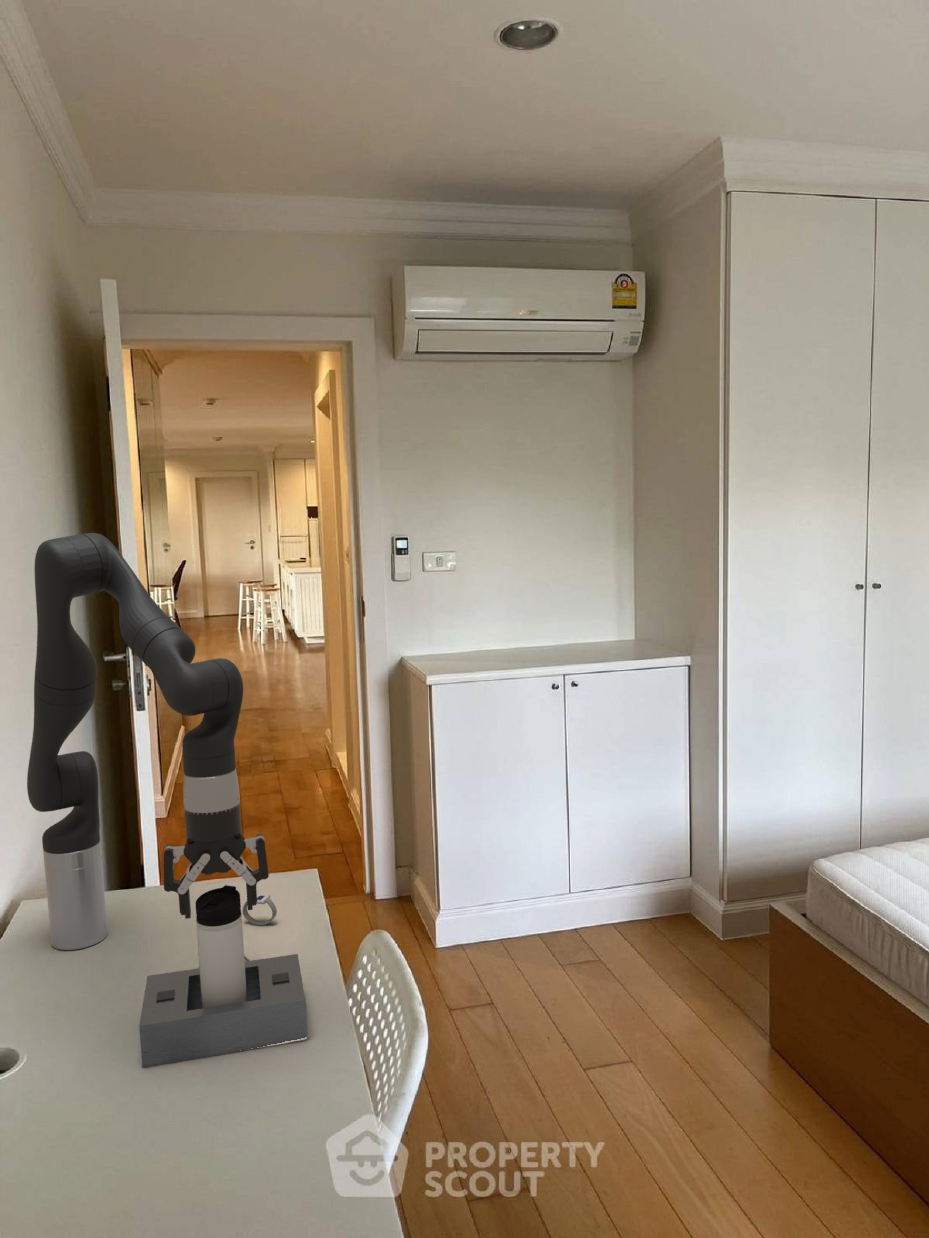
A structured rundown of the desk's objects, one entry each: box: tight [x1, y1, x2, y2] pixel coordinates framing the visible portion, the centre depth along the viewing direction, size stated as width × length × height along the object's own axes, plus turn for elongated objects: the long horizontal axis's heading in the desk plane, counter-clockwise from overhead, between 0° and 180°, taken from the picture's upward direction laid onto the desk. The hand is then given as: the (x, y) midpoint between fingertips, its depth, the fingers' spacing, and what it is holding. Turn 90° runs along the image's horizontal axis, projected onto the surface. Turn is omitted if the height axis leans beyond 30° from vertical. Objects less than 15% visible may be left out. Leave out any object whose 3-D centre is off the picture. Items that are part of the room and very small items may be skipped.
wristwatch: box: [241, 894, 277, 926], centre depth 167 cm, size 6×3×5 cm, turn 77°
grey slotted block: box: [138, 953, 308, 1069], centre depth 133 cm, size 14×22×6 cm, turn 104°
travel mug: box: [195, 884, 247, 1009], centre depth 133 cm, size 6×7×20 cm
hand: (219, 912), depth 132 cm, fingers open, 8 cm apart
